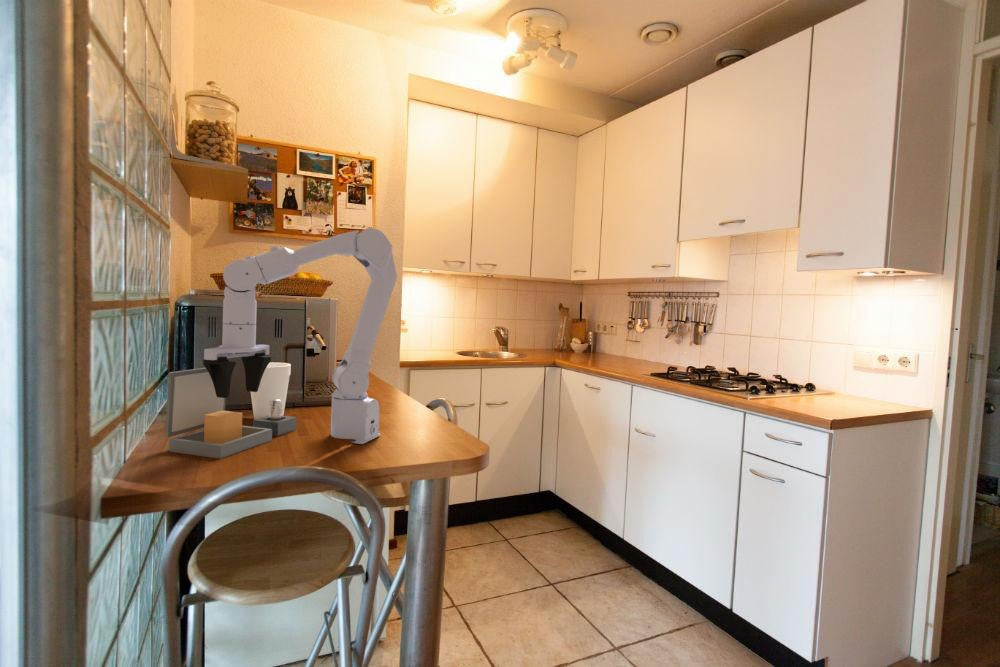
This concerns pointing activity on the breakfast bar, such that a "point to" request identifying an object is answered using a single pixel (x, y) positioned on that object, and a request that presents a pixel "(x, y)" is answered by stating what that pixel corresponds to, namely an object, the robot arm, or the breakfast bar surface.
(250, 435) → the grey shallow rectangular tray
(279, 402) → the white upright cylinder
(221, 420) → the block
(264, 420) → the grey square socket
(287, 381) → the foam cup
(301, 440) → the breakfast bar surface
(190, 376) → the lid
